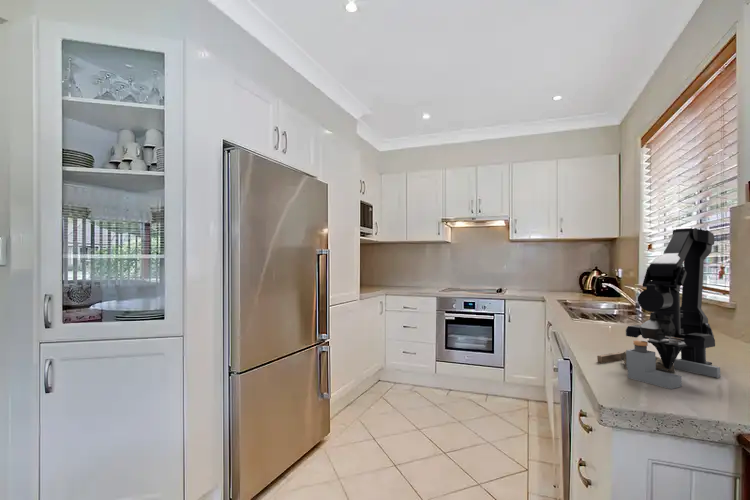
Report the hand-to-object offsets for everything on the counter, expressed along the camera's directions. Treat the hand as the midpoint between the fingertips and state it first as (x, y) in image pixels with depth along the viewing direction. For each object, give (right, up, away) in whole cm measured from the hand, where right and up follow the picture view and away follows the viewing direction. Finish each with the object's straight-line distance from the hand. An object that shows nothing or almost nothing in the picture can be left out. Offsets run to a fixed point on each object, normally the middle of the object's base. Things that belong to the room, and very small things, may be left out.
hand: (668, 368), depth 104 cm
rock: (-1, -2, +6) cm, 7 cm away
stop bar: (-7, -2, +14) cm, 16 cm away
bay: (0, -1, -2) cm, 3 cm away
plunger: (-10, +2, -3) cm, 10 cm away
